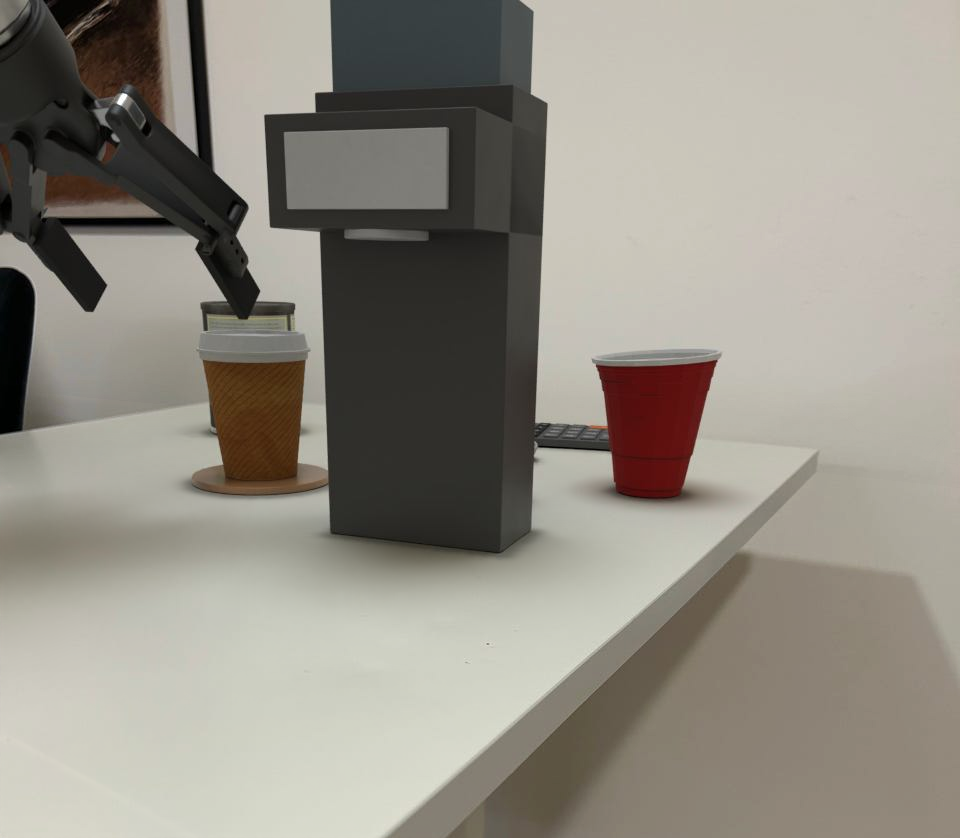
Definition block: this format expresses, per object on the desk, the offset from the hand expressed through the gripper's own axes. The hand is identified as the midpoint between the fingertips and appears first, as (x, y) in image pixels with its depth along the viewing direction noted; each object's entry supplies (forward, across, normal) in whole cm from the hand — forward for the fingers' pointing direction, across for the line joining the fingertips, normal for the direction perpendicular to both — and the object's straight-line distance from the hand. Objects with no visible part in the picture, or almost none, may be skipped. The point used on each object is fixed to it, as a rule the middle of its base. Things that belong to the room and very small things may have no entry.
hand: (171, 302), depth 73 cm
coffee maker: (+8, +21, -13) cm, 26 cm away
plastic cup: (+26, +33, +4) cm, 42 cm away
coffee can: (+36, -16, +13) cm, 41 cm away
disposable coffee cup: (+18, 0, -3) cm, 18 cm away
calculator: (+42, +18, +21) cm, 51 cm away
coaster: (+18, 0, -4) cm, 18 cm away
